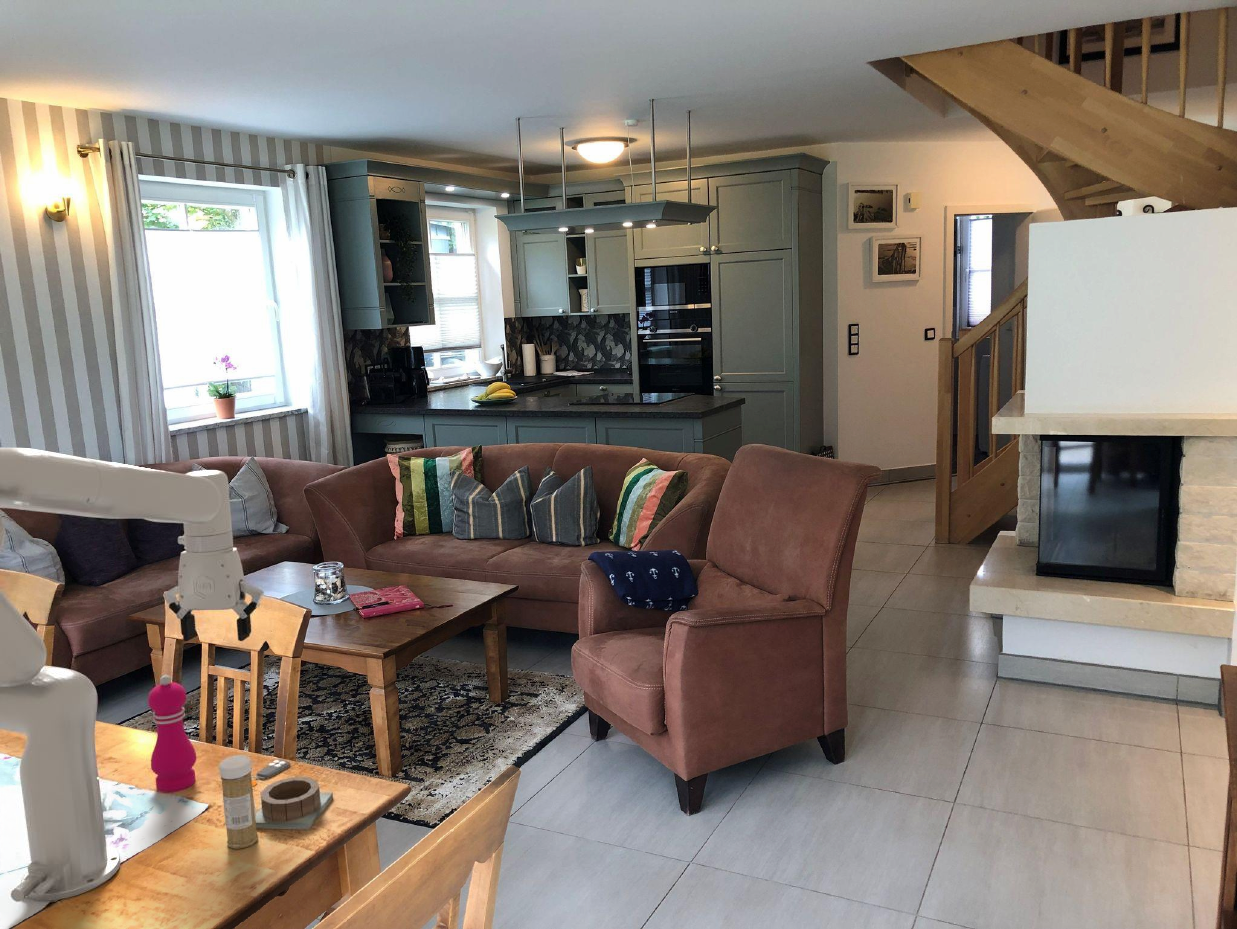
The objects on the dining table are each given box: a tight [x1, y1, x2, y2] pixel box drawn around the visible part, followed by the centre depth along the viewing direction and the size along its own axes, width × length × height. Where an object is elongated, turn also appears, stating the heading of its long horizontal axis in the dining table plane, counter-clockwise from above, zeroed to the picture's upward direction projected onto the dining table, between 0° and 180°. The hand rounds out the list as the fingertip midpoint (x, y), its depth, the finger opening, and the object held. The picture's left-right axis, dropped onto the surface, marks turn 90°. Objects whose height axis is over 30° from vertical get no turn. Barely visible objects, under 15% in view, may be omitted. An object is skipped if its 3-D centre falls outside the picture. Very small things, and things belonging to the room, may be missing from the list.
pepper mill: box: [147, 674, 197, 793], centre depth 165 cm, size 7×7×20 cm
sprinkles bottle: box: [218, 754, 259, 850], centre depth 146 cm, size 5×5×14 cm
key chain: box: [251, 759, 291, 788], centre depth 167 cm, size 13×4×2 cm, turn 157°
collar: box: [255, 776, 334, 830], centre depth 155 cm, size 10×10×4 cm
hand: (217, 638), depth 165 cm, fingers open, 9 cm apart
